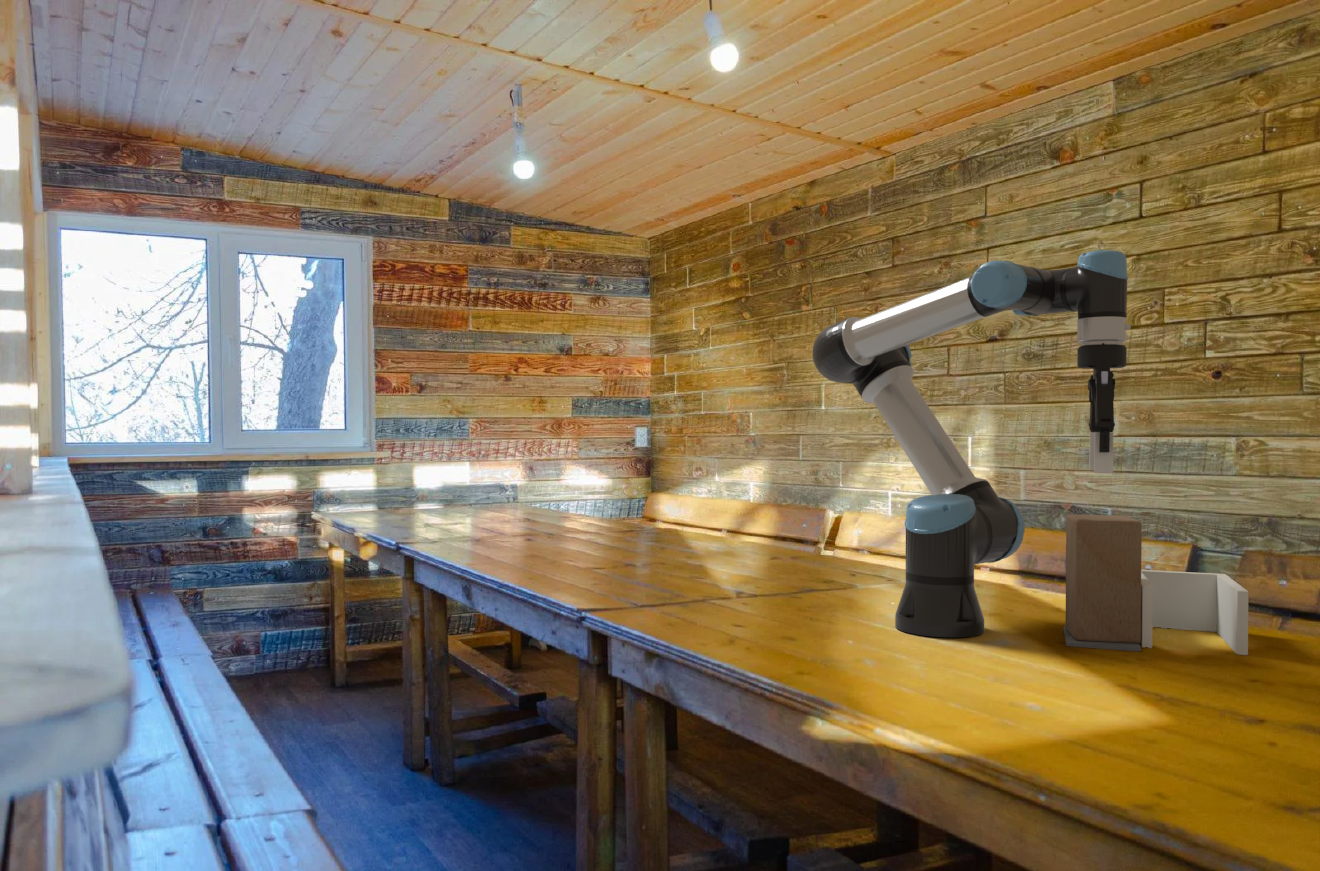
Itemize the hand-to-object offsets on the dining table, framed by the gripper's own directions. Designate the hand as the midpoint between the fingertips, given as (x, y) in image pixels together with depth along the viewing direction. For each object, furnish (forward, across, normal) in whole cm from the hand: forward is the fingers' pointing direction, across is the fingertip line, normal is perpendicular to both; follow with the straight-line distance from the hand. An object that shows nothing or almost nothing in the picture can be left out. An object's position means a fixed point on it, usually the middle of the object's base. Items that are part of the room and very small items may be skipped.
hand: (1100, 471), depth 164 cm
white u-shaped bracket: (+28, +5, -14) cm, 32 cm away
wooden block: (+28, 0, 0) cm, 28 cm away
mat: (+28, 0, 0) cm, 28 cm away
